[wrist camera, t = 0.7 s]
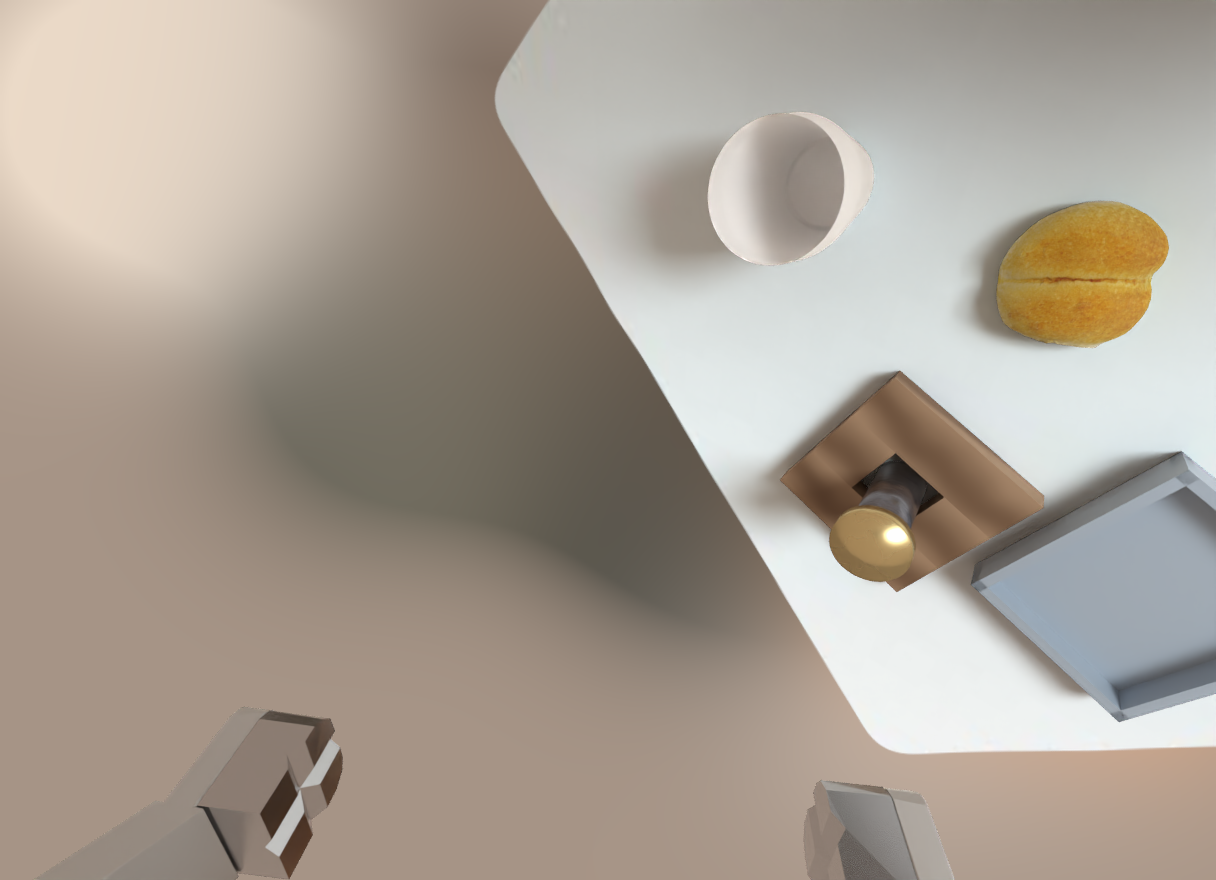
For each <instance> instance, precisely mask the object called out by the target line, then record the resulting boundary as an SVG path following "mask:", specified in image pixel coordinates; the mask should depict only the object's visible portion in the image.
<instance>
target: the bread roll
mask: <svg viewBox="0 0 1216 880" xmlns="http://www.w3.org/2000/svg"><path fill="white" fill-rule="evenodd" d="M1168 250H1169V245H1168V240H1167V236H1166V235H1165V233H1164V232H1163V230H1162V229H1161V228H1160V227H1159V225H1158V224H1157V223H1156V222H1155V221H1154V220H1153V219H1152V218H1151V217H1149V216H1148V215H1146V214H1145V213H1143V212H1141V211H1139V210H1137V209H1135V208H1133V207H1131V206H1128V205H1126V204H1123V203H1120V202H1113V201H1092V202H1085V203H1081V204H1077V205H1073V206H1071V207H1068V208H1065V209H1063V210H1060V211H1058V212H1056V213H1053V214H1050V215H1048V216H1046V217H1045V218H1043V219H1041V220H1040V221H1038V222H1037V223H1035V224H1034V225H1033V226H1031V227H1030V228H1029V229H1028V230H1027V231H1026V232H1024V233H1023V234H1022V235H1021V236H1020V237H1019V238H1018V239H1017V240H1016V241H1015V243H1014V244H1013V245H1012V246H1011V248H1010V249H1009V251H1008V252H1007V254H1006V255H1005V257H1004V259H1003V261H1002V263H1001V266H1000V269H999V275H998V283H997V294H996V299H997V306H998V310H999V313H1000V316H1001V318H1002V321H1003V322H1004V323H1005V325H1007V326H1008V327H1009V328H1011V329H1012V330H1014V331H1017V332H1018V333H1020V334H1022V335H1023V336H1025V337H1030V338H1033V339H1034V340H1037V341H1041V342H1044V343H1056V344H1061V345H1070V346H1075V347H1082V348H1083V347H1085V348H1096V347H1097V346H1099V345H1100V344H1102V343H1104V342H1106V341H1109V340H1112V339H1115V338H1117V337H1119V336H1121V335H1123V334H1125V333H1126V332H1128V331H1129V330H1130V329H1132V327H1133V326H1134V325H1135V324H1136V323H1137V322H1138V321H1139V320H1140V319H1141V318H1142V316H1143V315H1144V313H1145V312H1146V310H1147V308H1148V306H1149V303H1150V300H1151V291H1152V289H1151V279H1152V276H1153V274H1154V273H1155V272H1156V271H1157V270H1158V269H1159V268H1160V267H1161V266H1162V264H1163V263H1164V261H1165V260H1166V257H1167V254H1168Z"/></svg>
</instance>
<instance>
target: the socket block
mask: <svg viewBox="0 0 1216 880" xmlns="http://www.w3.org/2000/svg"><path fill="white" fill-rule="evenodd" d="M895 453H896V454H897V455H898V456H899V457H900V458H901V459H903V460H904V461H905V462H906V463H907V464H908V465H909V466H910V467H911V468H912V469H914V470H915V471H916V472H917V473H918V474H919V475H920V476H921V477H922V478H924V479H925V480H926V481H927V482H928V483H929V484H930V485H931V486H932V487H933V488H935V489H936V490H937V491H938V492H939V493H938V494H936V495H935V496H933V497H932V498H931V499H929V500H928V501H926V502H925V503H923V504H922V505H920V507H919V509H918V512H917V514H916V517H915V519H914V522H913V524H912V527H911V530H912V532H913V535H914V537H915V541H916V550H915V554H914V557H913V560H912V562H911V565H910V567H909V568H908V570H907V571H906V572H905V573H904V574H903V575H901V576H900V577H898V578H896V579H893V580H890V581H886V582H887V583H888V584H889V585H890V586H891V587H892V588H893V589H894V590H895V591H896V592H898V591H900V590H901V589H903V588H905V587H907V586H908V585H910V584H912V583H914V582H915V581H917V580H919V579H921V578H922V577H924V576H926V575H928V574H929V573H931V572H933V571H934V570H936V569H938V568H940V567H941V566H943V565H945V564H947V563H948V562H950V561H952V560H954V559H955V558H957V557H959V556H961V555H962V554H964V553H966V552H968V551H969V550H971V549H973V548H975V547H976V546H978V545H980V544H982V543H983V542H985V541H987V540H989V539H990V538H992V537H994V536H995V535H997V534H999V533H1001V532H1002V531H1004V530H1006V529H1008V528H1009V527H1011V526H1013V525H1015V524H1016V523H1018V522H1020V521H1022V520H1023V519H1025V518H1027V517H1029V516H1030V515H1032V514H1034V513H1036V512H1037V511H1039V510H1041V509H1043V508H1044V495H1043V494H1041V493H1040V492H1039V491H1038V490H1037V489H1036V488H1034V487H1033V486H1032V485H1031V484H1030V483H1029V482H1028V481H1026V480H1025V479H1024V478H1023V477H1022V476H1021V475H1020V474H1018V473H1017V472H1016V471H1015V470H1014V469H1013V468H1011V467H1010V466H1009V465H1008V464H1007V463H1006V462H1005V461H1003V460H1002V459H1001V458H1000V457H999V456H998V455H997V454H995V453H994V452H993V451H992V450H991V449H990V448H988V447H987V446H986V445H985V444H984V443H983V442H982V441H980V440H979V439H978V438H977V437H976V436H975V435H974V434H972V433H971V432H970V431H969V430H968V429H967V428H965V427H964V426H963V425H962V424H961V423H960V422H959V421H957V420H956V419H955V418H954V417H953V416H952V415H951V414H949V413H948V412H947V411H946V410H945V409H944V408H942V407H941V406H940V405H939V404H938V403H937V402H936V401H934V400H933V399H932V398H931V397H930V396H929V395H928V394H926V393H925V392H924V391H923V390H922V389H921V388H919V387H918V386H917V385H916V384H915V383H914V382H913V381H911V380H910V379H909V378H908V377H907V376H906V375H904V374H903V373H902V372H901V371H899V372H898V373H897V374H896V375H895V376H894V377H893V378H891V379H890V380H889V381H888V382H887V383H886V384H885V385H884V386H882V387H881V388H880V389H879V390H878V391H877V392H876V393H875V394H873V395H872V396H871V397H870V398H869V399H868V400H867V401H866V402H864V403H863V404H862V405H861V406H860V407H859V408H858V409H857V410H855V411H854V412H853V413H852V414H851V415H850V416H849V417H848V418H846V419H845V420H844V421H843V422H842V423H841V424H840V425H839V426H837V427H836V428H835V429H834V430H833V431H832V432H831V433H830V434H828V435H827V436H826V437H825V438H824V439H823V440H822V441H821V442H819V443H818V444H817V445H816V446H815V447H814V448H813V449H812V450H811V451H809V452H808V453H807V454H806V455H805V456H804V457H803V458H802V459H800V460H799V461H798V462H797V463H796V464H795V465H794V466H793V467H791V468H790V469H789V470H788V471H787V472H786V473H785V474H784V476H783V477H782V478H781V479H780V481H781V482H783V483H784V484H785V485H786V486H787V487H788V488H789V489H790V490H791V491H792V492H793V493H794V494H795V495H796V496H797V497H798V498H799V499H800V500H801V501H802V502H803V503H804V504H805V505H807V506H808V507H809V508H810V509H811V510H812V511H813V512H814V513H815V514H816V515H817V516H818V517H819V518H820V519H821V520H822V521H823V522H824V523H825V524H826V525H827V526H828V527H829V528H830V529H832V528H833V526H834V524H835V523H836V521H837V519H838V518H839V516H840V515H841V514H842V513H843V512H845V511H846V510H848V509H850V508H852V507H856V506H858V505H859V504H860V502H861V500H862V498H863V497H864V495H865V493H866V491H867V490H868V487H867V486H865V485H864V484H863V483H862V482H861V481H860V480H862V479H863V478H864V477H866V476H867V475H868V474H869V473H871V472H872V471H873V470H875V469H876V468H877V467H878V466H880V465H881V464H882V463H884V462H885V461H886V460H888V459H889V458H890V457H891V456H893V455H894V454H895Z"/></svg>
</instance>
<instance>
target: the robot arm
mask: <svg viewBox="0 0 1216 880" xmlns="http://www.w3.org/2000/svg"><path fill="white" fill-rule="evenodd" d="M334 732H335V730H334V727H333V724H332V722H331V719H330V718H323V717H315V716H307V715H299V714H292V713H284V712H277V711H273V710H265V709H257V708H248V707H242V708H240V709H239V710H238V711H236V712H235V713H234V714H232V715H231V716H230V717H229V719H228V720H227V721H226V723H225V724H224V725H223V726H222V728H221V729H220V730H219V731H218V733H217V734H216V735H215V736H214V738H213V739H212V740H211V742H210V743H209V744H208V746H207V747H206V748H205V749H204V751H203V752H202V753H201V755H200V756H199V757H198V758H197V760H196V761H195V762H194V763H193V765H192V766H191V767H190V769H189V770H188V771H187V772H186V774H185V775H184V776H183V778H182V779H181V780H180V781H179V783H178V784H177V785H176V787H175V788H174V789H173V790H172V792H171V793H170V794H169V796H168V797H167V798H166V800H165V801H164V802H159V801H155V802H153V803H151V804H150V805H148V806H147V807H145V808H143V809H142V810H140V811H139V812H137V813H136V814H134V815H133V816H131V817H130V818H128V819H126V820H125V821H123V822H122V823H120V824H119V825H117V826H116V827H114V828H112V829H111V830H110V831H108V832H106V833H105V834H103V835H102V836H100V837H99V838H97V839H96V840H94V841H92V842H91V843H89V844H88V845H86V846H85V847H83V848H82V849H80V850H78V851H77V852H75V853H74V854H72V855H71V856H69V857H68V858H66V859H65V860H63V861H61V862H60V863H59V864H57V865H55V866H54V867H52V868H51V869H49V870H48V871H46V872H44V873H43V874H42V875H40V876H38V877H37V878H35V879H34V880H236V879H237V878H238V874H237V873H239V874H248V875H256V876H264V877H272V878H281V879H290V877H291V875H292V873H293V871H294V869H295V868H296V866H297V864H298V862H299V860H300V858H301V856H302V854H303V853H304V851H305V849H306V847H307V845H308V843H309V841H310V839H311V837H312V836H313V832H312V819H313V818H314V817H315V816H317V815H318V814H319V813H320V812H322V811H323V810H324V809H326V808H327V807H328V805H329V803H330V801H331V799H332V797H333V795H334V793H335V791H336V789H337V786H338V783H339V780H340V776H341V773H342V764H343V757H342V753H341V749H340V747H339V746H338V745H337V744H335V743H334V742H333V741H332V740H331V737H332V735H333V734H334ZM813 794H814V799H815V806H813V807H811V808H809V809H808V811H807V815H806V819H805V824H804V851H805V860H806V866H807V873H808V876H809V877H810V879H811V880H955V879H954V876H953V874H952V871H951V868H950V865H949V863H948V860H947V857H946V854H945V851H944V849H943V846H942V843H941V840H940V838H939V835H938V832H937V829H936V827H935V824H934V821H933V818H932V816H931V813H930V810H929V808H928V805H927V802H926V801H925V799H924V798H923V797H922V795H921V794H919V793H917V792H914V791H905V790H896V789H888V788H883V787H877V786H867V785H859V784H850V783H840V782H831V781H822V780H821V781H819V782H817V783H816V786H815V789H814V792H813Z"/></svg>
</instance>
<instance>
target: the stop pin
mask: <svg viewBox="0 0 1216 880" xmlns="http://www.w3.org/2000/svg"><path fill="white" fill-rule="evenodd" d="M926 488H927V481H926V480H925V479H924V478H922V477H921V476H920V475H919V474H918V473H917V472H916V471H915V470H914V469H912V468H911V467H910V466H909V465H908V464H907V463H906V462H905V461H891V462H888V463H886V464H884V465H883V466H882V467H881V468H880V469H879V470H878V472H877V474H876V475H875V477H874V479H873V481H872V482H871V484H870V486H869V488H868V490H867V491H866V493H865V495H864V497H863V498H862V500H861V502H860V504H859V505H858V506H856V507H852V508H850V509H848V510H846V511H845V512H843V513H842V514H841V515H840V516H839V518H838V519H837V521H836V523H835V524H834V526H833V528H832V529H831V532H830V537H829V543H830V548H831V551H832V553H833V555H834V557H835V559H836V560H837V561H838V562H839V564H840V565H841V566H842V567H843V568H845V569H846V570H847V571H849V572H850V573H852V574H853V575H855V576H857V577H860V578H862V579H865V580H869V581H877V582H883V581H890V580H893V579H896V578H898V577H900V576H901V575H903V574H904V573H905V572H906V571H907V570H908V568H909V567H910V565H911V562H912V560H913V557H914V554H915V550H916V541H915V537H914V535H913V532H912V530H911V527H912V524H913V522H914V519H915V517H916V514H917V512H918V509H919V507H920V504H921V502H922V499H923V496H924V494H925V491H926Z"/></svg>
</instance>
